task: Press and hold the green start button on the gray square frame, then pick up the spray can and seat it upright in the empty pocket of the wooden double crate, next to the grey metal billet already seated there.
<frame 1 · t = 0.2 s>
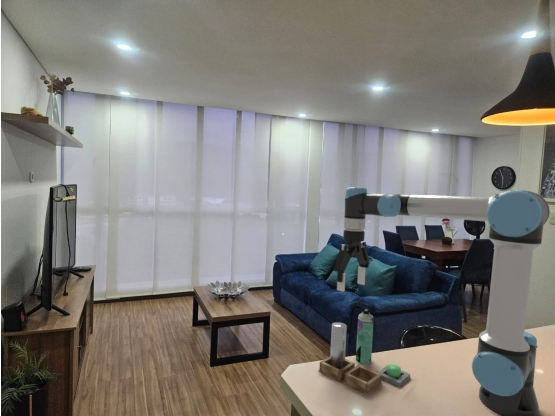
hand: (351, 287, 129), 27 cm above the counter, fingers open, 13 cm apart
gray square frame: (393, 380, 118), on the counter
spray can: (363, 363, 129), on the counter
wooden double crate: (349, 380, 117), on the counter
start button: (393, 371, 118), point 3 cm above the counter, slide at 0.0 cm
seated billet: (336, 371, 120), point 1 cm above the counter, touching wooden double crate
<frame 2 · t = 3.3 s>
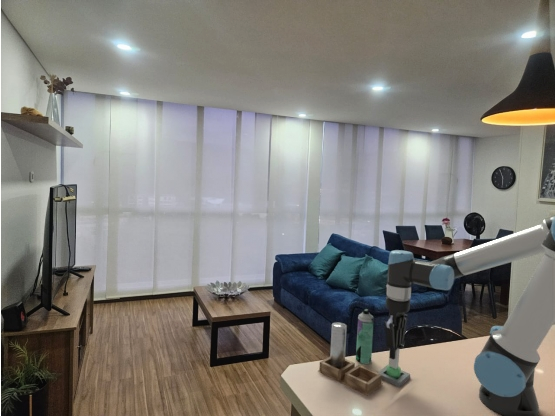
hand: (393, 366, 118), 5 cm above the counter, fingers closed
start button: (393, 372, 118), point 3 cm above the counter, slide at 0.0 cm, touching gripper
everything else where it was.
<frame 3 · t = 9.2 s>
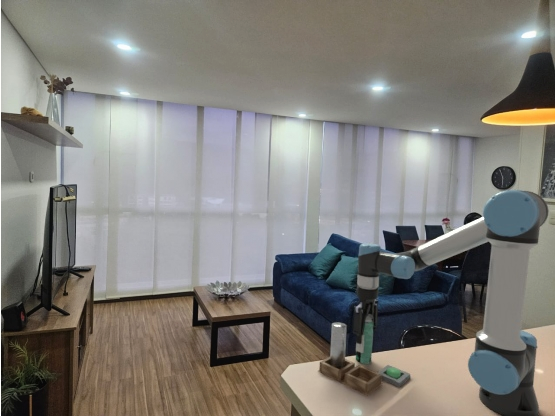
hand: (364, 348, 129), 5 cm above the counter, fingers closed on spray can, 5 cm apart
spray can: (363, 363, 129), on the counter, touching gripper
start button: (393, 375, 118), point 2 cm above the counter, slide at 1.1 cm
everything else where it was.
when the fingers open (8 cm above the counter, at t = 15.0 s): spray can drops 1 cm, resting on wooden double crate.
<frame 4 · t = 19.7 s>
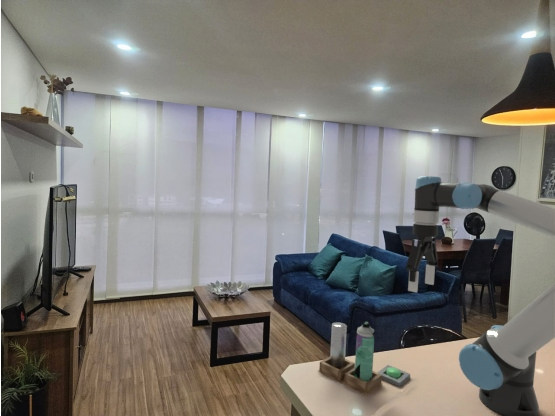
hand: (421, 287, 117), 32 cm above the counter, fingers open, 13 cm apart
spray can: (362, 383, 113), point 1 cm above the counter, touching wooden double crate
everything else where it was.
at the end: spray can 0.1 cm from the target spot on the wooden double crate, point 1.0 cm above the wooden double crate's base; spray can tilted 0°; start button slide at 1.1 cm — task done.
